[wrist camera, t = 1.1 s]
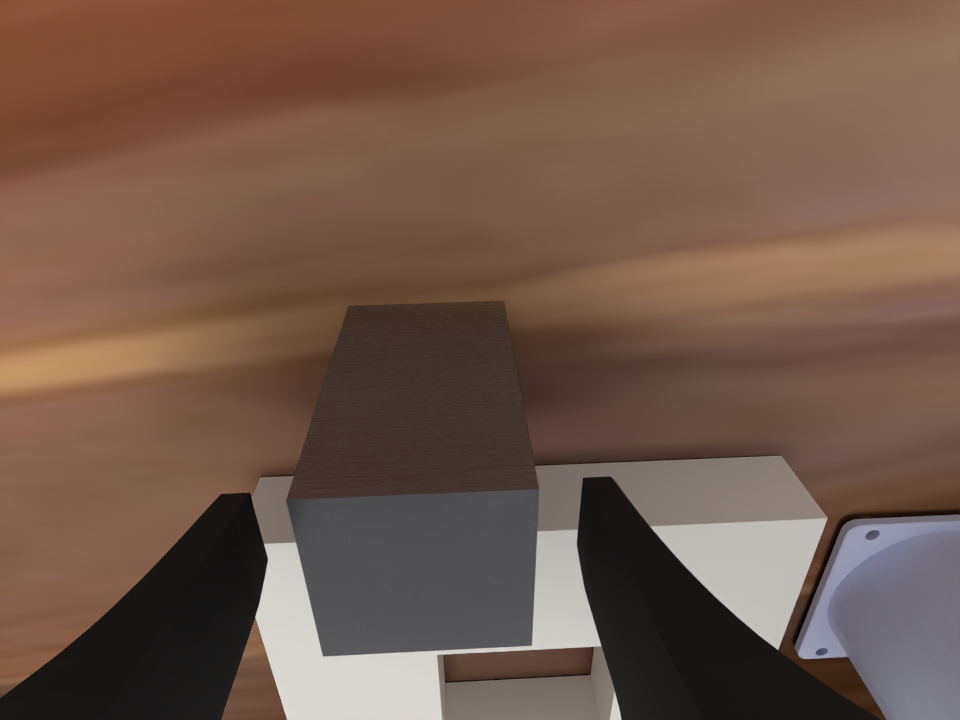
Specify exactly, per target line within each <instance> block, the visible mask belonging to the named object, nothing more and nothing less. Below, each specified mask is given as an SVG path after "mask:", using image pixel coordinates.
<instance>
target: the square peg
mask: <svg viewBox="0 0 960 720" xmlns="http://www.w3.org/2000/svg"><path fill="white" fill-rule="evenodd" d="M286 502H287V506H288V510H289V515H290V519H291V523H292V527H293V532H294V536H295V540H296V544H297V549H298V553H299V557H300V561H301V566H302V570H303V574H304V578H305V583H306V587H307V591H308V595H309V600H310V604H311V608H312V612H313V617H314V621H315V625H316V629H317V634H318V638H319V642H320V646H321V651H322V655H323V657H325V656H344V655H364V654H383V653H402V652H421V651H441V650H460V649H479V648H499V647H518V646H532V635H533V613H534V592H535V570H536V549H537V528H538V506H539V485H538V480H537V474H536V469H535V464H534V459H533V453H532V448H531V443H530V438H529V432H528V427H527V422H526V417H525V411H524V406H523V401H522V395H521V390H520V385H519V380H518V374H517V369H516V364H515V359H514V353H513V348H512V343H511V338H510V332H509V327H508V322H507V317H506V311H505V306H504V301H486V302H456V303H425V304H394V305H364V306H349V307H348V310H347V313H346V316H345V319H344V322H343V325H342V328H341V331H340V335H339V338H338V341H337V344H336V347H335V350H334V353H333V356H332V359H331V362H330V366H329V369H328V372H327V375H326V378H325V381H324V384H323V387H322V390H321V393H320V397H319V400H318V403H317V406H316V409H315V412H314V415H313V418H312V421H311V424H310V428H309V431H308V434H307V437H306V440H305V443H304V446H303V449H302V452H301V455H300V459H299V462H298V465H297V468H296V471H295V474H294V477H293V480H292V483H291V486H290V490H289V493H288V496H287V499H286Z"/></svg>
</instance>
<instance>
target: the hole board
mask: <svg viewBox="0 0 960 720" xmlns="http://www.w3.org/2000/svg"><path fill="white" fill-rule="evenodd" d="M535 469H536V474H537V480H538V485H539V506H538V528H537V549H536V570H535V592H534V613H533V635H532V646H518V647H499V648H479V649H460V650H441V651H421V652H402V653H383V654H364V655H344V656H325V657H323V655H322V651H321V646H320V642H319V638H318V634H317V629H316V625H315V621H314V617H313V612H312V608H311V604H310V600H309V595H308V591H307V587H306V583H305V578H304V574H303V570H302V566H301V561H300V557H299V553H298V549H297V544H296V540H295V536H294V532H293V527H292V523H291V519H290V515H289V510H288V506H287V502H286V499H287V496H288V493H289V490H290V486H291V483H292V480H293V477H294V476H282V477H260V479H259V481H258V484H257V486H256V489H255V491H254V494H253V496H252V502H253V506H254V510H255V513H256V517H257V520H258V524H259V528H260V531H261V535H262V539H263V542H264V546H265V550H266V553H267V557H268V563H267V568H266V574H265V579H264V584H263V589H262V594H261V598H260V603H259V607H258V610H257V613H256V616H255V617H256V620H257V624H258V627H259V630H260V633H261V636H262V640H263V643H264V646H265V649H266V653H267V656H268V659H269V662H270V666H271V669H272V672H273V675H274V678H275V682H276V685H277V688H278V691H279V695H280V698H281V701H282V704H283V708H284V711H285V714H286V717H287V720H621V715H620V710H619V706H618V702H617V698H616V694H615V690H614V686H613V683H612V680H611V676H610V673H609V670H608V666H607V663H606V660H605V656H604V653H603V650H602V646H601V643H600V640H599V636H598V633H597V630H596V626H595V623H594V620H593V616H592V613H591V609H590V606H589V603H588V599H587V596H586V592H585V589H584V583H583V578H582V573H581V567H580V561H579V555H578V550H577V534H578V524H579V513H580V502H581V492H582V481H583V478H586V477H608V476H611V477H612V478H613V479H614V480H615V481H616V483H617V484H618V485H619V487H620V488H621V490H622V491H623V492H624V494H625V495H626V496H627V498H628V499H629V500H630V502H631V503H632V504H633V506H634V507H635V508H636V509H637V511H638V512H639V513H640V514H641V516H642V517H643V518H644V520H645V521H646V522H647V523H648V524H649V526H650V527H651V528H652V529H653V531H654V532H655V533H656V534H657V535H658V536H659V538H660V539H661V540H662V541H663V542H664V543H665V544H666V546H667V547H668V548H669V549H670V550H671V551H672V553H673V554H674V555H675V556H676V557H677V558H678V559H679V560H680V561H681V562H682V564H683V565H684V566H685V567H686V568H687V569H688V570H689V571H690V572H691V573H692V574H693V575H694V576H695V577H696V578H697V579H698V580H699V581H700V582H701V583H702V584H703V585H704V586H705V587H706V588H707V589H708V590H709V591H710V592H711V593H712V594H713V595H714V596H715V597H716V598H717V599H718V600H719V601H720V602H721V603H722V604H724V605H725V606H726V607H727V608H728V609H729V610H730V611H731V612H732V613H733V614H735V615H736V616H737V617H738V618H739V619H740V620H741V621H743V622H744V623H745V624H746V625H747V626H748V627H750V628H751V629H752V630H753V631H754V632H756V633H757V634H758V635H759V636H760V637H762V638H763V639H764V640H766V641H767V642H768V643H769V644H771V645H772V646H773V647H775V648H776V649H777V650H778V649H779V646H780V644H781V641H782V638H783V636H784V633H785V630H786V628H787V625H788V622H789V620H790V617H791V614H792V612H793V609H794V606H795V604H796V601H797V598H798V596H799V593H800V590H801V588H802V585H803V583H804V580H805V577H806V575H807V572H808V569H809V567H810V564H811V561H812V559H813V556H814V553H815V551H816V548H817V545H818V543H819V540H820V537H821V535H822V532H823V529H824V527H825V524H826V521H827V519H828V518H827V517H826V515H825V514H824V513H823V511H822V510H821V509H820V507H819V506H818V505H817V503H816V502H815V500H814V499H813V498H812V496H811V495H810V494H809V492H808V491H807V490H806V488H805V487H804V486H803V484H802V483H801V482H800V480H799V479H798V477H797V476H796V475H795V473H794V472H793V471H792V469H791V468H790V467H789V465H788V464H787V463H786V461H785V460H784V458H783V457H782V456H760V457H736V458H712V459H688V460H664V461H641V462H617V463H593V464H569V465H545V466H535ZM578 647H594V652H593V660H592V667H591V675H582V676H564V677H545V678H526V679H507V680H489V681H470V682H451V683H445V673H444V659H443V654H462V653H481V652H501V651H520V650H539V649H558V648H578Z"/></svg>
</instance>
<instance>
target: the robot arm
mask: <svg viewBox="0 0 960 720" xmlns="http://www.w3.org/2000/svg"><path fill="white" fill-rule="evenodd" d="M577 550H578V555H579V561H580V567H581V573H582V578H583V583H584V589H585V592H586V596H587V599H588V603H589V606H590V609H591V613H592V616H593V620H594V623H595V626H596V630H597V633H598V636H599V640H600V643H601V646H602V650H603V653H604V656H605V660H606V663H607V666H608V670H609V673H610V676H611V680H612V683H613V686H614V690H615V694H616V698H617V702H618V706H619V710H620V715H621V720H880V719H879V718H877V717H876V716H874V715H872V714H871V713H869V712H867V711H866V710H864V709H863V708H861V707H859V706H858V705H856V704H854V703H853V702H851V701H850V700H848V699H846V698H845V697H843V696H842V695H840V694H839V693H837V692H836V691H834V690H833V689H831V688H830V687H828V686H827V685H825V684H824V683H822V682H821V681H820V680H818V679H817V678H815V677H814V676H812V675H811V674H809V673H808V672H806V671H805V670H804V669H802V668H801V667H800V666H798V665H797V664H795V663H794V662H793V661H792V660H790V659H789V658H788V657H786V656H785V655H784V654H782V653H781V652H780V651H779V650H777V649H776V648H775V647H773V646H772V645H771V644H769V643H768V642H767V641H766V640H764V639H763V638H762V637H760V636H759V635H758V634H757V633H756V632H754V631H753V630H752V629H751V628H750V627H748V626H747V625H746V624H745V623H744V622H743V621H741V620H740V619H739V618H738V617H737V616H736V615H735V614H733V613H732V612H731V611H730V610H729V609H728V608H727V607H726V606H725V605H724V604H722V603H721V602H720V601H719V600H718V599H717V598H716V597H715V596H714V595H713V594H712V593H711V592H710V591H709V590H708V589H707V588H706V587H705V586H704V585H703V584H702V583H701V582H700V581H699V580H698V579H697V578H696V577H695V576H694V575H693V574H692V573H691V572H690V571H689V570H688V569H687V568H686V567H685V566H684V565H683V564H682V562H681V561H680V560H679V559H678V558H677V557H676V556H675V555H674V554H673V553H672V551H671V550H670V549H669V548H668V547H667V546H666V544H665V543H664V542H663V541H662V540H661V539H660V538H659V536H658V535H657V534H656V533H655V532H654V531H653V529H652V528H651V527H650V526H649V524H648V523H647V522H646V521H645V520H644V518H643V517H642V516H641V514H640V513H639V512H638V511H637V509H636V508H635V507H634V506H633V504H632V503H631V502H630V500H629V499H628V498H627V496H626V495H625V494H624V492H623V491H622V490H621V488H620V487H619V485H618V484H617V483H616V481H615V480H614V479H613V478H612V477H611V476H608V477H586V478H583V481H582V492H581V502H580V513H579V524H578V534H577ZM267 563H268V557H267V553H266V550H265V546H264V542H263V539H262V535H261V531H260V528H259V524H258V520H257V517H256V513H255V510H254V506H253V502H252V499H251V495H250V493H234V494H221V495H220V496H219V497H218V498H217V499H216V500H215V501H214V502H213V503H212V504H211V505H210V506H209V508H208V509H207V510H206V511H205V512H204V513H203V514H202V515H201V516H200V517H199V519H198V520H197V521H196V522H195V523H194V524H193V525H192V526H191V527H190V528H189V530H188V531H187V532H186V533H185V534H184V535H183V536H182V537H181V538H180V539H179V540H178V542H177V543H176V544H175V545H174V546H173V547H172V548H171V549H170V550H169V551H168V552H167V553H166V554H165V555H164V556H163V557H162V558H161V559H160V561H159V562H158V563H157V564H156V565H155V566H154V567H153V568H152V569H151V570H150V571H149V572H148V573H147V574H146V575H145V576H144V577H143V578H142V579H141V580H140V581H139V582H138V583H137V584H136V585H135V586H134V587H133V588H132V589H131V590H130V591H129V592H128V593H127V594H126V595H125V596H124V597H123V598H122V599H121V600H120V601H118V602H117V603H116V604H115V605H114V606H113V607H112V608H111V609H110V610H109V611H108V612H107V613H106V614H105V615H104V616H103V617H101V618H100V619H99V620H98V621H97V622H96V623H95V624H94V625H93V626H91V627H90V628H89V629H88V630H87V631H86V632H84V633H83V634H82V635H81V636H80V637H78V638H77V639H76V640H75V641H74V642H73V643H71V644H70V645H69V646H68V647H67V648H65V649H64V650H63V651H62V652H60V653H59V654H58V655H57V656H56V657H54V658H53V659H52V660H50V661H49V662H48V663H46V664H45V665H44V666H42V667H41V668H40V669H39V670H37V671H36V672H35V673H33V674H32V675H31V676H29V677H28V678H27V679H25V680H24V681H23V682H21V683H20V684H19V685H17V686H16V687H15V688H13V689H12V690H11V691H9V692H8V693H7V694H5V695H4V696H3V697H1V698H0V720H221V719H222V715H223V712H224V708H225V706H226V703H227V700H228V697H229V694H230V691H231V688H232V685H233V682H234V679H235V676H236V673H237V670H238V667H239V664H240V661H241V658H242V655H243V652H244V649H245V646H246V643H247V640H248V637H249V634H250V631H251V628H252V625H253V622H254V619H255V616H256V613H257V610H258V607H259V603H260V598H261V594H262V589H263V584H264V579H265V574H266V568H267ZM795 650H796V652H797V654H798V655H799V657H801V658H803V659H815V658H834V657H849V659H850V661H851V662H852V664H853V665H854V667H855V669H856V670H857V672H858V674H859V675H860V677H861V679H862V680H863V682H864V683H865V685H866V687H867V688H868V690H869V692H870V693H871V695H872V696H873V698H874V700H875V701H876V703H877V705H878V706H879V708H880V710H881V711H882V713H883V714H884V716H885V718H886V719H887V720H960V514H958V515H937V516H915V517H893V518H871V519H855V520H851V521H849V522H847V523H846V524H844V525H843V527H842V528H841V530H840V533H839V535H838V538H837V541H836V543H835V546H834V548H833V551H832V553H831V556H830V558H829V561H828V563H827V566H826V568H825V571H824V573H823V576H822V578H821V581H820V583H819V586H818V588H817V591H816V594H815V596H814V599H813V601H812V604H811V606H810V609H809V611H808V614H807V616H806V619H805V621H804V624H803V626H802V629H801V631H800V634H799V636H798V639H797V641H796V644H795Z"/></svg>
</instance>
